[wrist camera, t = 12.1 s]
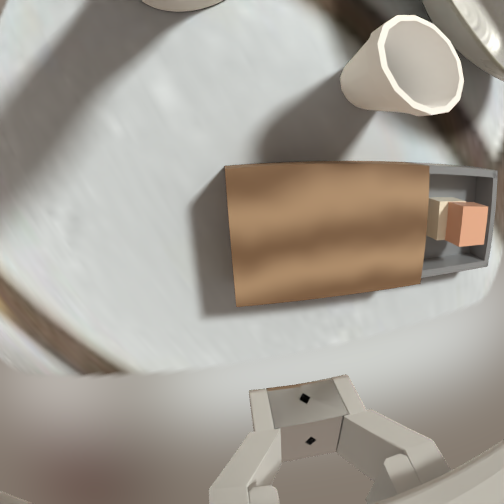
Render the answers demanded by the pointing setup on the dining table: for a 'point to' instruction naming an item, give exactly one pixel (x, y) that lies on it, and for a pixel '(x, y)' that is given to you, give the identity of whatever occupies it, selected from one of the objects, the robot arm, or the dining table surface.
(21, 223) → the dining table surface
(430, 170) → the box
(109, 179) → the dining table surface
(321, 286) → the walnut platform
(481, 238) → the salmon orange block
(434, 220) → the cream block
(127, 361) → the dining table surface
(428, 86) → the foam cup
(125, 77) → the dining table surface
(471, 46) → the decorative bowl
